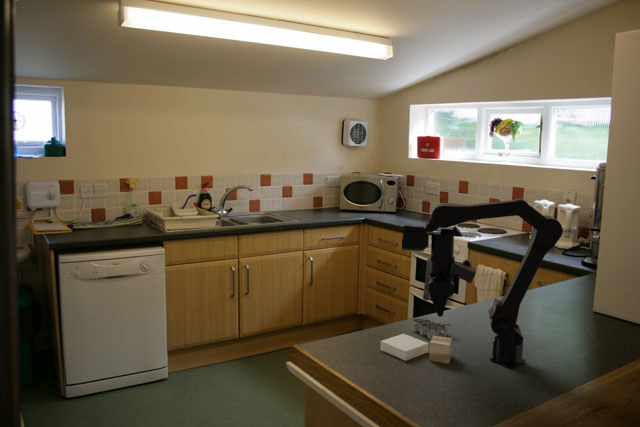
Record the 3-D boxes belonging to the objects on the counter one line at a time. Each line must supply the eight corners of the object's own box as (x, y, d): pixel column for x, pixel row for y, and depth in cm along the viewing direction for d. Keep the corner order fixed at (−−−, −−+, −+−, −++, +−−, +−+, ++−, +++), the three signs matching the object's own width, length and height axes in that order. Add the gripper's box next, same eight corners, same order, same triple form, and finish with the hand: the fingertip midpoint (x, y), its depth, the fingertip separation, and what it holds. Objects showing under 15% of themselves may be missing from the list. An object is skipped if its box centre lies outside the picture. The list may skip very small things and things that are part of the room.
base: (428, 352, 143) (428, 343, 143) (405, 360, 138) (405, 351, 137) (403, 342, 150) (403, 333, 150) (380, 349, 145) (380, 340, 144)
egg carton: (451, 337, 155) (451, 324, 154) (430, 341, 152) (430, 328, 151) (428, 325, 164) (429, 313, 164) (408, 329, 161) (408, 316, 160)
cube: (448, 363, 136) (449, 345, 136) (429, 360, 138) (429, 342, 137) (451, 356, 141) (452, 338, 140) (432, 353, 143) (433, 335, 142)
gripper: (476, 261, 127) (474, 325, 129) (472, 246, 145) (470, 302, 147) (428, 259, 130) (427, 321, 132) (431, 245, 148) (429, 299, 150)
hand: (440, 310), depth 140 cm, fingers open, 9 cm apart
